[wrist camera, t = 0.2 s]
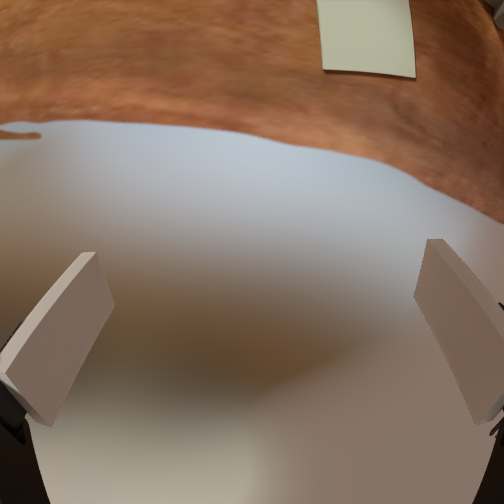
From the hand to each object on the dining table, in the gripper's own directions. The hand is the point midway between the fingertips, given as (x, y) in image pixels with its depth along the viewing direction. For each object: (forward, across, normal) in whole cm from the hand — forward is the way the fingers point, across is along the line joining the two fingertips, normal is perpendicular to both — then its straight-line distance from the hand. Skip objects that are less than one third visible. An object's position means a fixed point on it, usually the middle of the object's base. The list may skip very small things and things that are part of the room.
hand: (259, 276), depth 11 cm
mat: (+28, +13, +19) cm, 36 cm away
